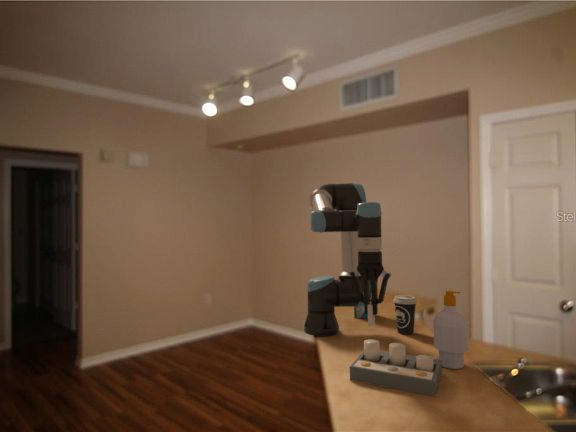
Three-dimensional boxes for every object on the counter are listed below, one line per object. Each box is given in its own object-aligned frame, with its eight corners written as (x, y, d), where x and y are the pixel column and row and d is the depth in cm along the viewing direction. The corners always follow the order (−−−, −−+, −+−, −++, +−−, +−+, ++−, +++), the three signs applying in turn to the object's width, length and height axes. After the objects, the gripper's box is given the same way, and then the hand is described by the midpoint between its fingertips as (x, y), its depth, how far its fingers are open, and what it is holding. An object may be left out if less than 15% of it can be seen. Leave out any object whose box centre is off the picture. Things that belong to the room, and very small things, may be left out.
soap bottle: (466, 374, 114) (464, 295, 114) (431, 367, 119) (429, 292, 120) (470, 363, 123) (468, 289, 123) (437, 357, 128) (435, 287, 128)
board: (349, 379, 111) (349, 364, 111) (366, 360, 126) (365, 347, 126) (435, 396, 100) (435, 379, 100) (442, 373, 115) (441, 358, 115)
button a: (362, 362, 117) (362, 343, 117) (366, 357, 121) (366, 338, 121) (377, 364, 115) (377, 345, 115) (381, 359, 119) (380, 340, 119)
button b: (387, 366, 113) (387, 346, 113) (391, 361, 118) (391, 342, 118) (404, 369, 111) (403, 349, 111) (407, 363, 115) (406, 344, 115)
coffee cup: (419, 336, 151) (418, 299, 151) (394, 335, 153) (394, 299, 153) (415, 329, 161) (415, 295, 161) (393, 328, 163) (392, 294, 163)
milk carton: (354, 317, 182) (353, 266, 182) (357, 313, 190) (357, 264, 191) (372, 319, 179) (371, 267, 179) (375, 314, 187) (374, 265, 187)
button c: (415, 379, 110) (414, 359, 110) (417, 373, 114) (417, 353, 114) (432, 382, 107) (432, 361, 107) (434, 376, 112) (434, 356, 112)
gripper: (346, 251, 118) (347, 325, 118) (387, 251, 112) (389, 330, 112) (353, 249, 125) (355, 319, 124) (393, 250, 119) (394, 324, 118)
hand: (371, 324), depth 118 cm, fingers closed
